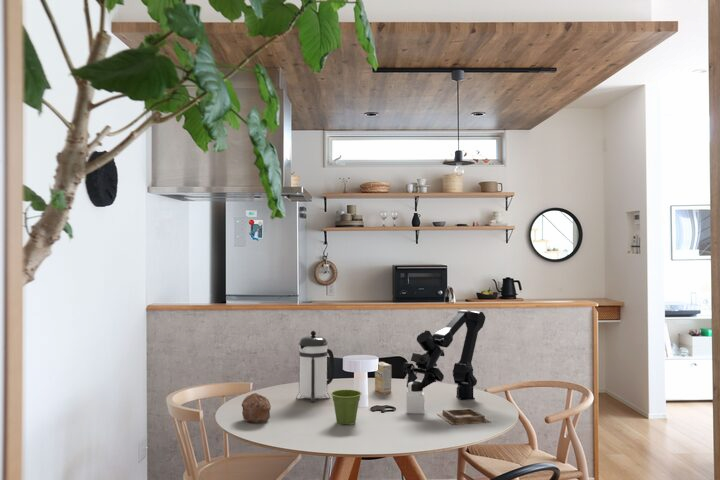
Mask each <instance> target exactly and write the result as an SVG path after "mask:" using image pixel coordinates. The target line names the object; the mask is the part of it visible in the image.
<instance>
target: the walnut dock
mask: <svg viewBox="0 0 720 480" xmlns="http://www.w3.org/2000/svg"><path fill="white" fill-rule="evenodd" d="M436 415H437V416H438V417H440V418H441V419H443V420H444V421H445V422H446V423H448V424H450V425H451V426H460V425H461V426H462V425H472V424H473V425H474V424H475V425H476V424H487V423H489V422H490V423H492V421H491V420H489V419H487V418H486V416H485V415H483V414H482V413H480V412H479V411H477V410H475V409H473V408H471V407H470V408H454V409H442V413H436ZM490 423H489V424H490Z"/></svg>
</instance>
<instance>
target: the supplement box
mask: <svg viewBox="0 0 720 480" xmlns="http://www.w3.org/2000/svg"><path fill="white" fill-rule="evenodd" d="M377 362H378V371H375V370H374V390H375V392H378V393H381V394H383V395H385V394H391V393H392V364H389V363H386V362H385V361H377Z"/></svg>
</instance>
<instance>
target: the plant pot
mask: <svg viewBox="0 0 720 480" xmlns="http://www.w3.org/2000/svg"><path fill="white" fill-rule="evenodd" d="M362 394H363V393H362V392H361V391H360V390H356V389H337V390H334V391H333V390H332V391H331V392H330V395H331V397H332V401H333V405H334V413H335V421H336V423H337V424H339V425H354V424H355V423H356V422H357V414H358V408H359V402H360V400H361V399H360V398H361V396H362Z"/></svg>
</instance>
